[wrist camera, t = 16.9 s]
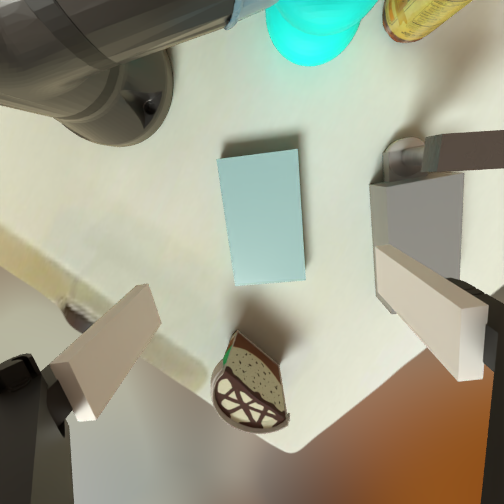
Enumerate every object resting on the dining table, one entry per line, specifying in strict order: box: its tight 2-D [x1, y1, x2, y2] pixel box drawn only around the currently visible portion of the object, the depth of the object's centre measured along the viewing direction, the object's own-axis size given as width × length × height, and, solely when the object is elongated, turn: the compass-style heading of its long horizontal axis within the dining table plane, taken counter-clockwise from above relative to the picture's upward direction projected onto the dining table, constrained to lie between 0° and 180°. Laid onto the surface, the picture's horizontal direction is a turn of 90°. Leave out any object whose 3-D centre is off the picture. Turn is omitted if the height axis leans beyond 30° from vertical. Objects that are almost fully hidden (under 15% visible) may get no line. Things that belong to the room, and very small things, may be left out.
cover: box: [217, 149, 306, 286], centre depth 35 cm, size 17×10×3 cm, turn 7°
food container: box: [211, 330, 290, 434], centre depth 38 cm, size 12×6×10 cm, turn 46°
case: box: [369, 137, 464, 314], centre depth 32 cm, size 21×8×5 cm, turn 11°
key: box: [401, 130, 504, 172], centre depth 24 cm, size 9×2×13 cm, turn 93°
